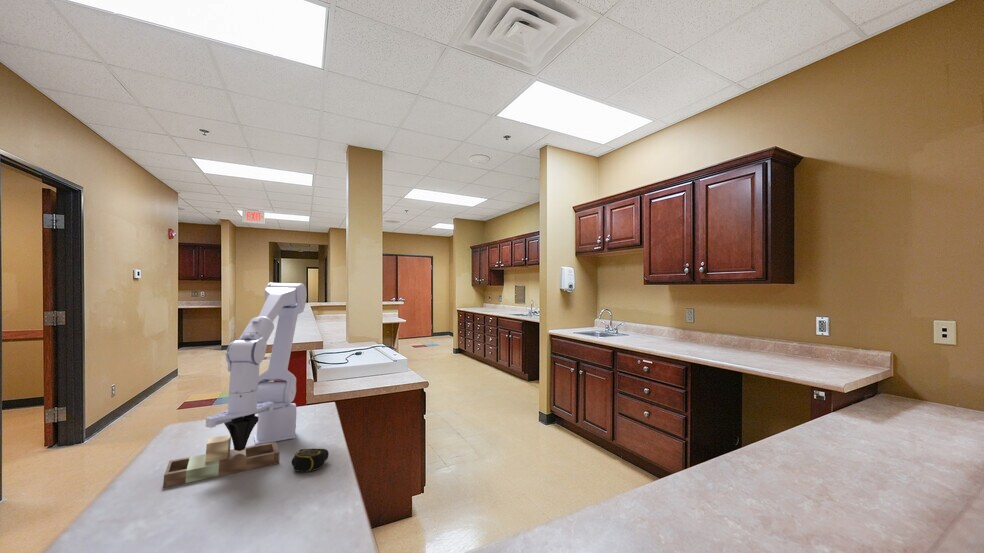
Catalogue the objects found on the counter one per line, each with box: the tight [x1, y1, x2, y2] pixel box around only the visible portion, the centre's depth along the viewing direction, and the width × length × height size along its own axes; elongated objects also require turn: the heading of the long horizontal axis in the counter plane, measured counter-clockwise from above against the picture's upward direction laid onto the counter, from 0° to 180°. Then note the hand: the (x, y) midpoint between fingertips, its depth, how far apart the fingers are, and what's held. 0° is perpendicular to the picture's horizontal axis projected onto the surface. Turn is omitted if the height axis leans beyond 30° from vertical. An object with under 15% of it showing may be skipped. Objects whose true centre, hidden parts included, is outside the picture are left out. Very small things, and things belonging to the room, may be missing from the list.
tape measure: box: [291, 448, 329, 472], centre depth 84 cm, size 7×7×4 cm
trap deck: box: [162, 441, 280, 489], centre depth 83 cm, size 20×8×2 cm, turn 126°
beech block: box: [205, 434, 232, 462], centre depth 83 cm, size 4×4×4 cm
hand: (239, 449), depth 85 cm, fingers closed
